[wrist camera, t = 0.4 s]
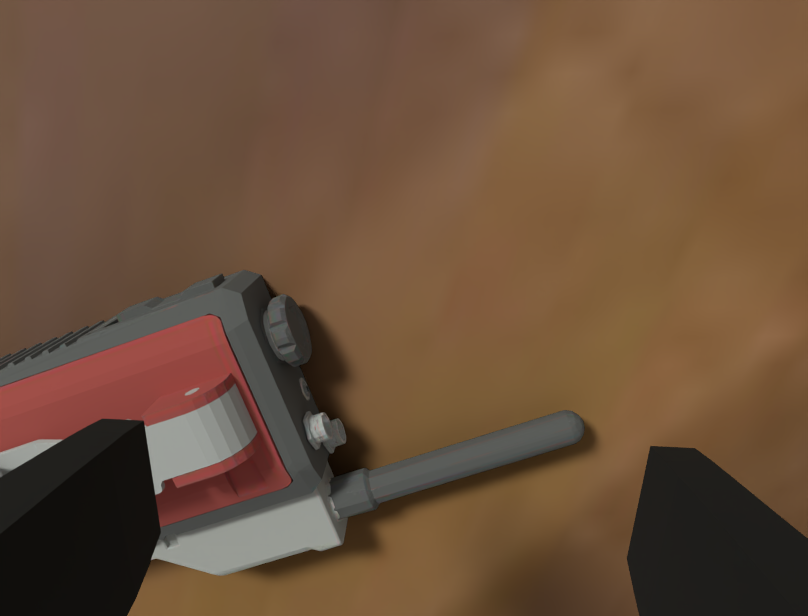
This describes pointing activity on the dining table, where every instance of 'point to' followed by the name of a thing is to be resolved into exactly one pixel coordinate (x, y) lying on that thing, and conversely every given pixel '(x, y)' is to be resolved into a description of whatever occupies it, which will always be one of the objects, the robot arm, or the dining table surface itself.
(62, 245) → the dining table surface
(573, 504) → the dining table surface
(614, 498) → the dining table surface
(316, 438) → the walkie-talkie
